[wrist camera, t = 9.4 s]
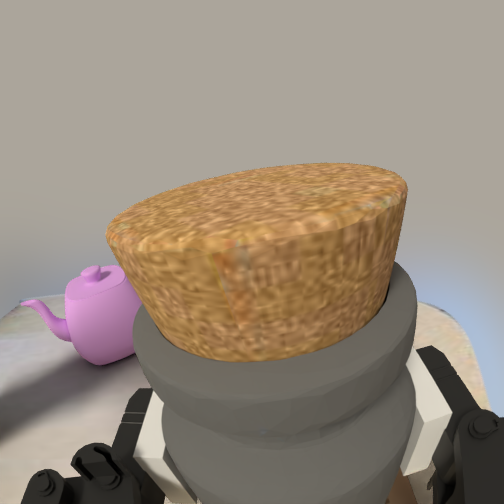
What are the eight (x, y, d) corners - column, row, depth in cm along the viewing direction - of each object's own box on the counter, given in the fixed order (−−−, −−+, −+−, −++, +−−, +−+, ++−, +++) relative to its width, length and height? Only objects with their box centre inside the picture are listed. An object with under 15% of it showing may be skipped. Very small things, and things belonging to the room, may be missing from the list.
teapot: (140, 302, 69) (120, 239, 64) (172, 345, 52) (145, 265, 47) (51, 337, 59) (24, 276, 53) (55, 394, 42) (12, 317, 36)
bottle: (262, 595, 7) (-10, 327, 2) (230, 501, 13) (105, 199, 7) (389, 547, 8) (529, 187, 3) (338, 465, 14) (329, 152, 8)
